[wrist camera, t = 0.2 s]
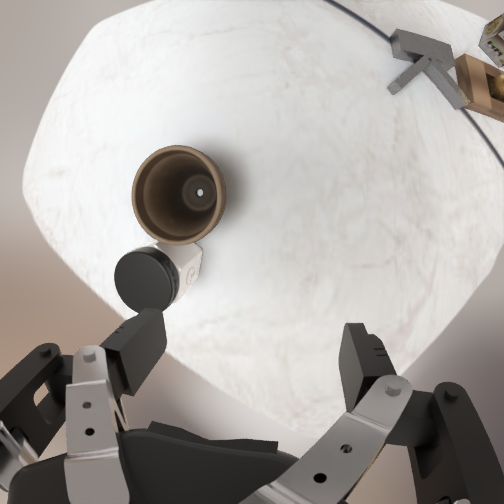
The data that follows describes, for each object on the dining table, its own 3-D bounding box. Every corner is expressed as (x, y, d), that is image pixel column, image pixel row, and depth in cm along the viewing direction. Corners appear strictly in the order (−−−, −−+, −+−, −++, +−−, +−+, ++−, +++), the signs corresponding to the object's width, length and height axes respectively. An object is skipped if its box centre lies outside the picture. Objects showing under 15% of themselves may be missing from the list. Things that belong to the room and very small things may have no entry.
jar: (197, 290, 44) (168, 327, 32) (151, 276, 44) (112, 306, 32) (207, 236, 41) (177, 258, 30) (158, 224, 42) (115, 240, 30)
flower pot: (151, 178, 40) (115, 180, 30) (214, 138, 37) (190, 125, 28) (186, 243, 42) (159, 262, 32) (252, 207, 39) (241, 216, 30)
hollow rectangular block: (453, 60, 28) (464, 53, 24) (502, 81, 27) (514, 77, 23) (461, 106, 31) (474, 102, 27) (509, 124, 29) (522, 122, 25)
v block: (379, 35, 30) (385, 26, 26) (449, 54, 28) (459, 48, 25) (387, 94, 32) (395, 87, 29) (459, 110, 31) (470, 107, 27)
